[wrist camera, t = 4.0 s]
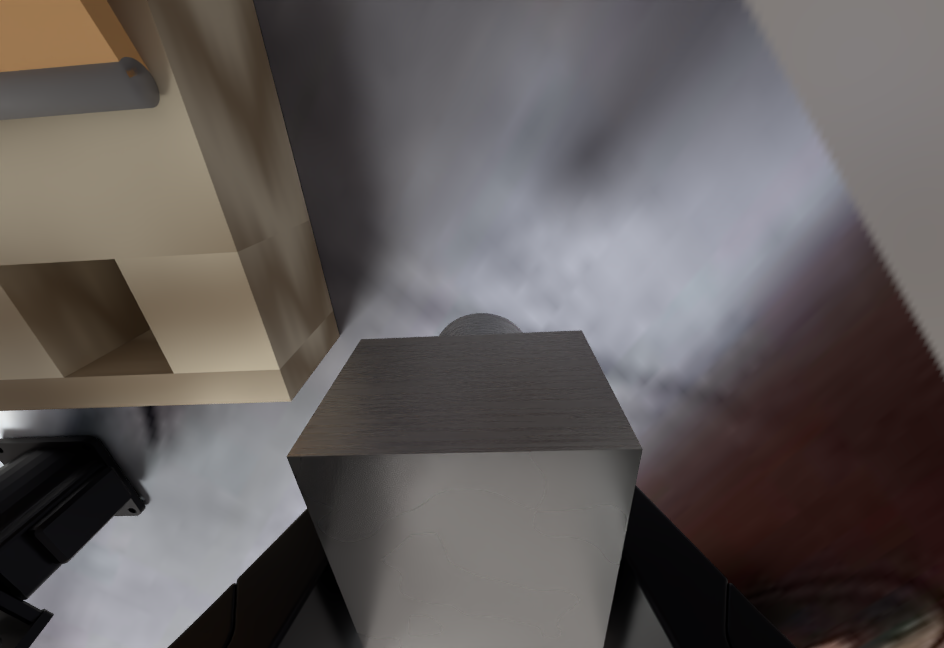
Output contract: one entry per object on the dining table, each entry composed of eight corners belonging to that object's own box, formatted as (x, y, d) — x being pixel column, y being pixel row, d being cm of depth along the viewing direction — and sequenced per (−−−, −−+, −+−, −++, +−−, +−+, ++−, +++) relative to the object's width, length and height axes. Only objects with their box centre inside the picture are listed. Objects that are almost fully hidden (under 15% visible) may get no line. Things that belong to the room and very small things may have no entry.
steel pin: (436, 435, 13) (389, 712, 7) (410, 260, 10) (287, 455, 4) (538, 432, 13) (589, 716, 6) (542, 253, 10) (641, 448, 4)
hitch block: (339, 336, 18) (291, 401, 13) (110, 346, 18) (-10, 411, 14) (216, -141, 11) (22, -346, 6) (-152, -97, 11) (-566, -253, 7)
